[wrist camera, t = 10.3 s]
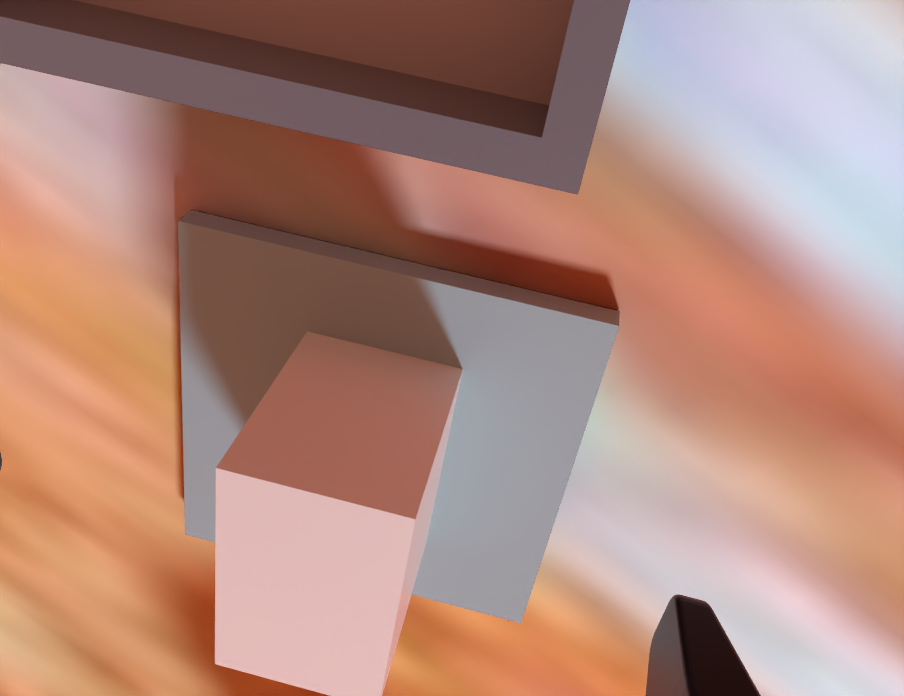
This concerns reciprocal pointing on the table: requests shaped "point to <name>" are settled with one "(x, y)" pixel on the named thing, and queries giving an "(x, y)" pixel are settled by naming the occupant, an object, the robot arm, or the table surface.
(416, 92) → the grey square tray
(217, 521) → the block
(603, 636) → the table surface
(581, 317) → the mat
